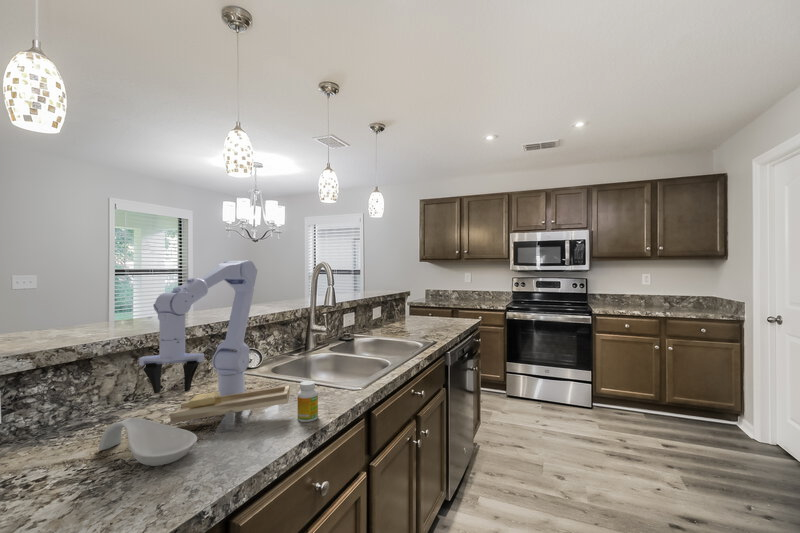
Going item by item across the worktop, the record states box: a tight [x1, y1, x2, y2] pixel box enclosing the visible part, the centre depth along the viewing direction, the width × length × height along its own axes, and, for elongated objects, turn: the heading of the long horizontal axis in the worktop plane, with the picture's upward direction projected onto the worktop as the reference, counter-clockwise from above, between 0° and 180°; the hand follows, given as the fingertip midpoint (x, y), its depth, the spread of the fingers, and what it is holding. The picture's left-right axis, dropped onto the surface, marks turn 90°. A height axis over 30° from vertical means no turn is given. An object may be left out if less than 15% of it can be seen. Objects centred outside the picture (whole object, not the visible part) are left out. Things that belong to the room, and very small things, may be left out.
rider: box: [188, 390, 221, 409], centre depth 95 cm, size 5×6×3 cm
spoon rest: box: [98, 416, 198, 467], centre depth 80 cm, size 24×12×7 cm, turn 72°
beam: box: [169, 384, 291, 424], centre depth 97 cm, size 8×28×3 cm, turn 102°
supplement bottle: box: [297, 380, 319, 423], centre depth 99 cm, size 5×5×10 cm
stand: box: [215, 409, 252, 434], centre depth 97 cm, size 12×6×5 cm, turn 12°
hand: (172, 391), depth 94 cm, fingers open, 6 cm apart
